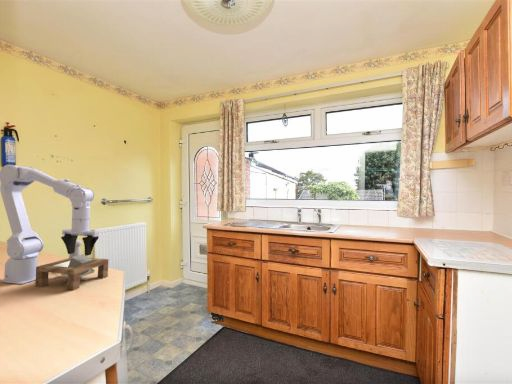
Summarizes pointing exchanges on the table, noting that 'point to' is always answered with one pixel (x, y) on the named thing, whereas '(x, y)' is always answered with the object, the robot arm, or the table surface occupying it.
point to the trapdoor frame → (70, 272)
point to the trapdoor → (68, 265)
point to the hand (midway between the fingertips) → (79, 254)
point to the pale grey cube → (79, 261)
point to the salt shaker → (76, 249)
